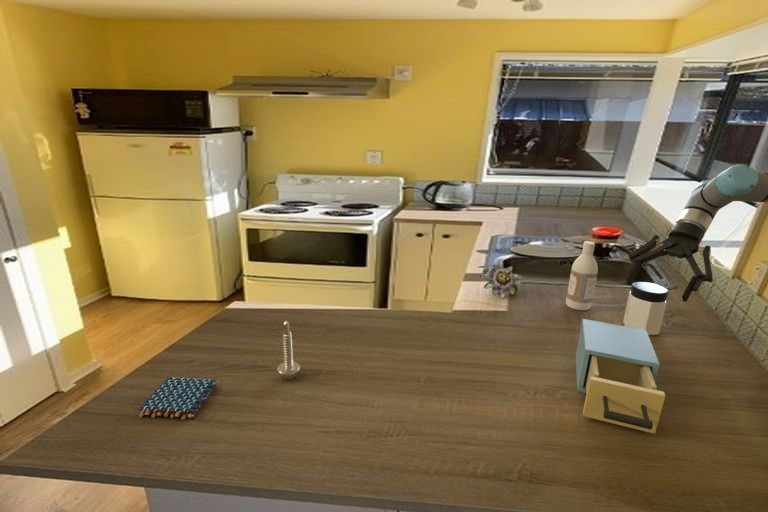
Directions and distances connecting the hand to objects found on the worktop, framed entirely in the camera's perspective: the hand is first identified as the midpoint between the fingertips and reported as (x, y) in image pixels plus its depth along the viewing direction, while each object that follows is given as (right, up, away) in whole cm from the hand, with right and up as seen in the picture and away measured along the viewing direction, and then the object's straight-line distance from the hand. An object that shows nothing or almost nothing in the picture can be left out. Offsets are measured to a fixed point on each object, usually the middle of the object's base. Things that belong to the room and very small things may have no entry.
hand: (655, 290), depth 114 cm
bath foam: (-15, -6, +13) cm, 21 cm away
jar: (-4, -10, 0) cm, 11 cm away
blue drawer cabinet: (-25, -17, -23) cm, 38 cm away
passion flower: (-36, -3, +22) cm, 42 cm away
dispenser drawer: (-29, -20, -34) cm, 49 cm away
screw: (-93, -16, -25) cm, 98 cm away
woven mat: (-112, -19, -33) cm, 118 cm away
